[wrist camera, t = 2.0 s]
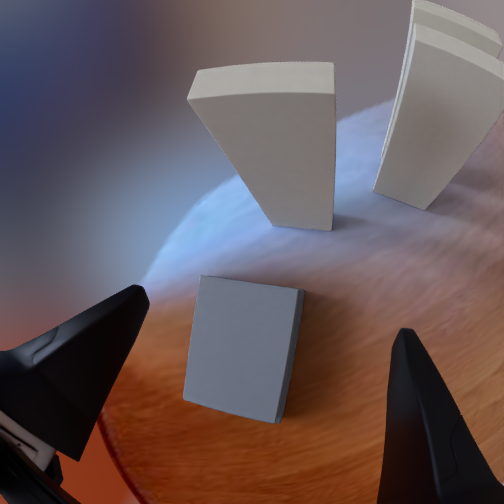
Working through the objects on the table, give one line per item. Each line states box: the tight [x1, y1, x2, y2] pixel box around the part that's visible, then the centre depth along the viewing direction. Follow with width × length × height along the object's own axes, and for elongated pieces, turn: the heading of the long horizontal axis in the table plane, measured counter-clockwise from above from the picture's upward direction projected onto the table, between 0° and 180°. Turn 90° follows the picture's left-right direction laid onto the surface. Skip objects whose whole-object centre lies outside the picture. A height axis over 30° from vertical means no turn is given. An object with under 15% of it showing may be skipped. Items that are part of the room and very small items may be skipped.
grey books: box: [183, 275, 305, 424], centre depth 21 cm, size 11×8×3 cm
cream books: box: [373, 0, 504, 210], centre depth 14 cm, size 5×5×16 cm
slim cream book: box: [187, 62, 336, 231], centre depth 16 cm, size 2×5×16 cm, turn 81°
